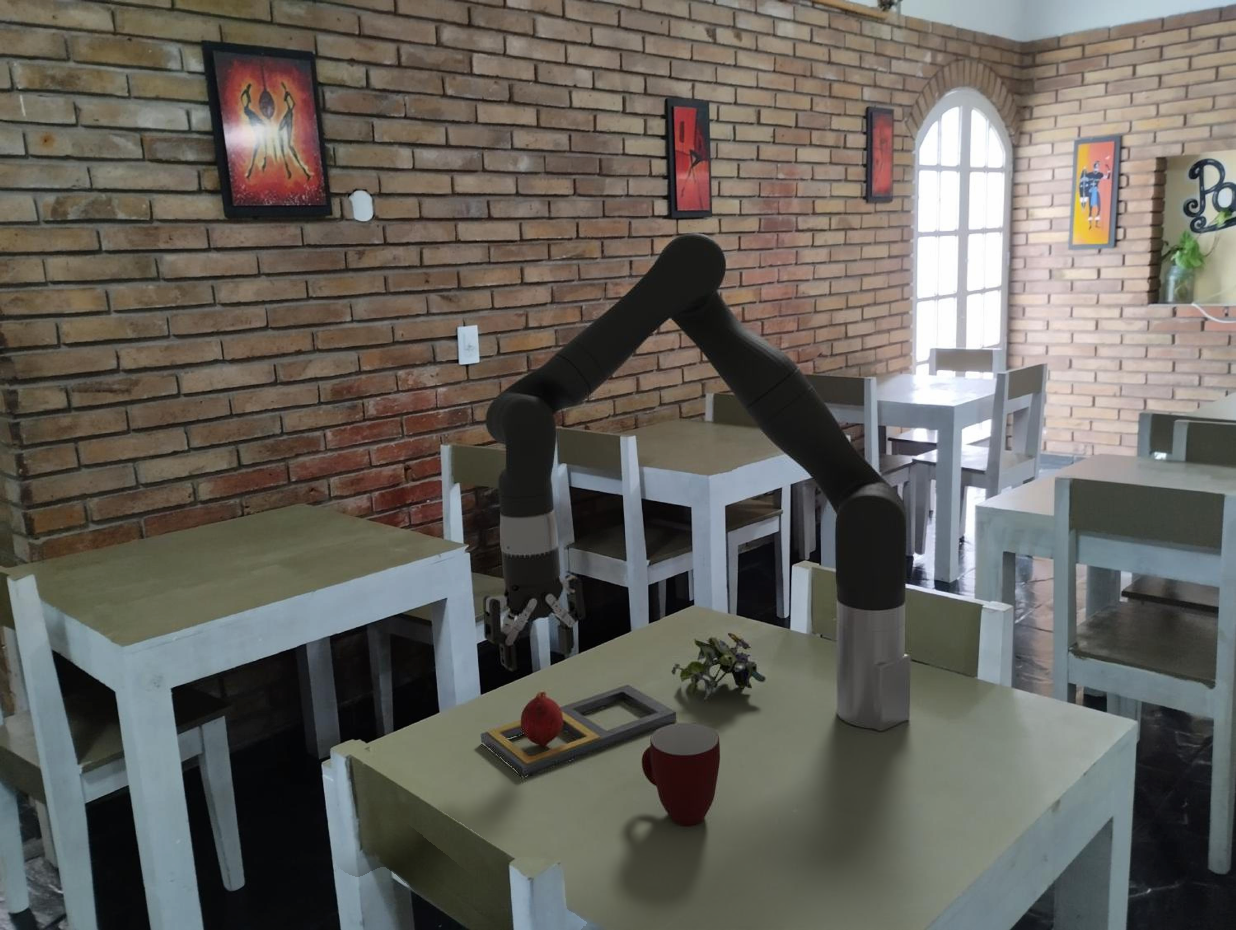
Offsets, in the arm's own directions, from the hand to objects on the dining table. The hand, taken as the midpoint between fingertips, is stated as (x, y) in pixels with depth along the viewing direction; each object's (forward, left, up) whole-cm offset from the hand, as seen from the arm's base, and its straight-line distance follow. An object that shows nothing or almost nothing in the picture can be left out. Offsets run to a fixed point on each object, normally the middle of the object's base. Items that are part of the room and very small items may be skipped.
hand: (538, 660), depth 130 cm
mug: (-25, -4, -13) cm, 28 cm away
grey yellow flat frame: (0, -6, -13) cm, 14 cm away
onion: (0, 0, -13) cm, 13 cm away
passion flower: (-3, -29, -13) cm, 32 cm away
